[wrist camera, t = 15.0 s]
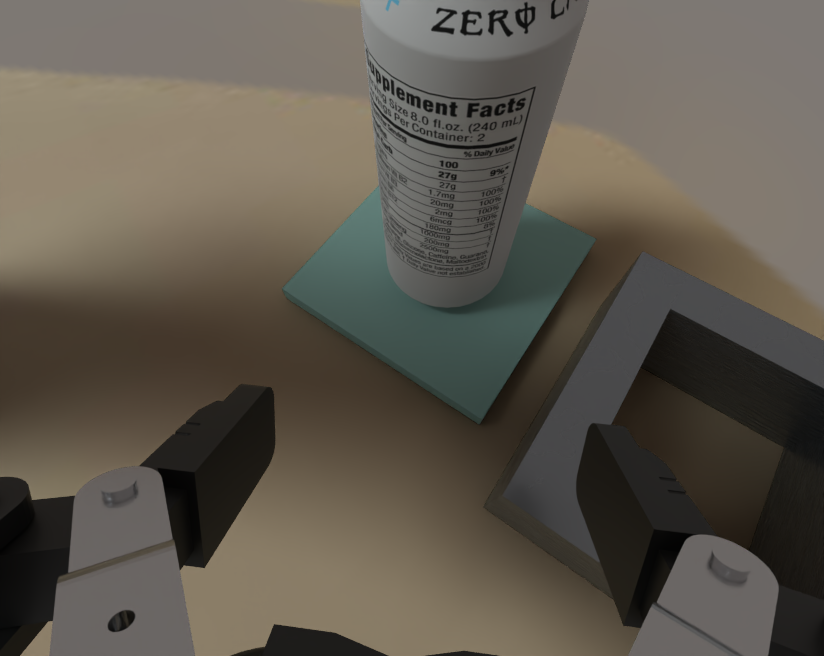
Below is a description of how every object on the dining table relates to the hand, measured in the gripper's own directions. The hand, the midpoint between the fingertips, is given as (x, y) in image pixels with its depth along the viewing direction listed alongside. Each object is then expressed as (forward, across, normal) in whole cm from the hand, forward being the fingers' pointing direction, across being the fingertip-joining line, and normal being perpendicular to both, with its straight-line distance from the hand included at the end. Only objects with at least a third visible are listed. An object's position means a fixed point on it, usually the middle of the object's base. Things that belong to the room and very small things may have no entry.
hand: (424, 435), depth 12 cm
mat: (+15, 0, -1) cm, 15 cm away
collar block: (+8, -11, +6) cm, 15 cm away
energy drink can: (+14, 0, -1) cm, 14 cm away
